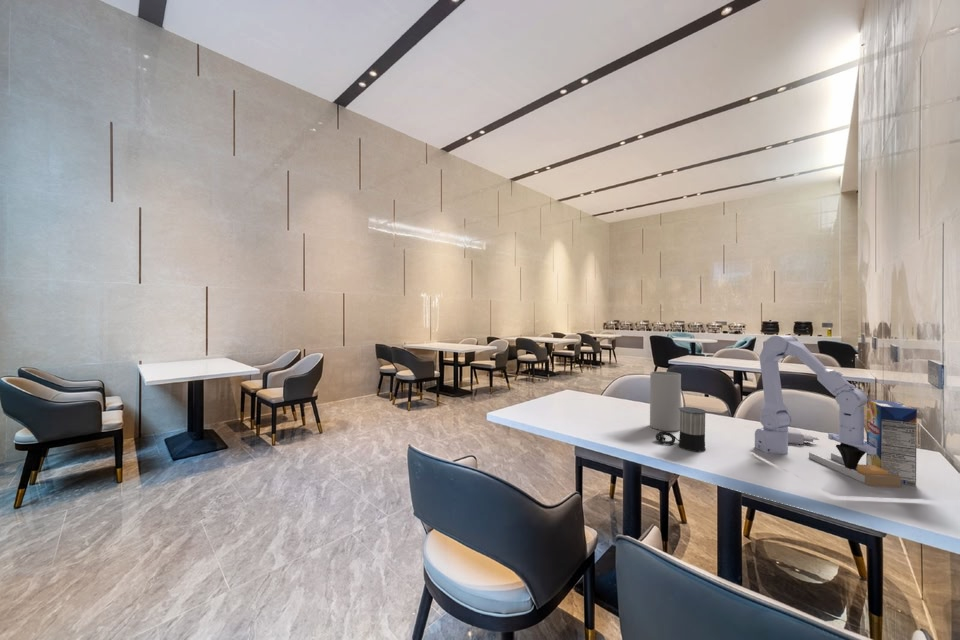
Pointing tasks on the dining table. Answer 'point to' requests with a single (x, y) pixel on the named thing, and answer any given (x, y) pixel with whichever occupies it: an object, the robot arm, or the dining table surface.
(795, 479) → the dining table surface
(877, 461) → the blue food box
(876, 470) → the orange cube
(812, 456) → the track
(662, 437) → the milk frother
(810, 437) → the charger
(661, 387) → the cylinder vase
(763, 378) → the robot arm
